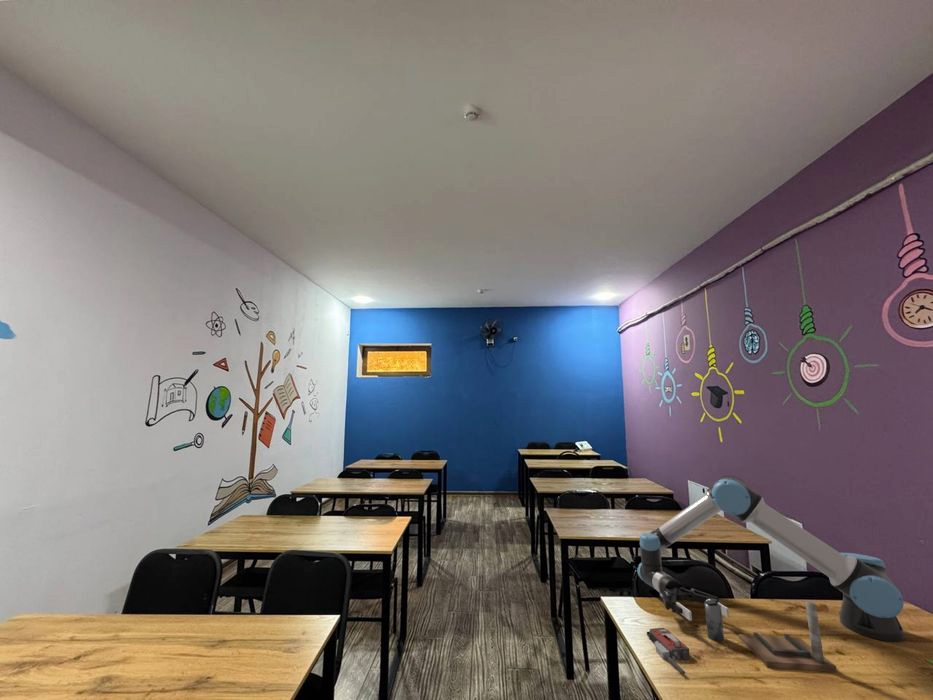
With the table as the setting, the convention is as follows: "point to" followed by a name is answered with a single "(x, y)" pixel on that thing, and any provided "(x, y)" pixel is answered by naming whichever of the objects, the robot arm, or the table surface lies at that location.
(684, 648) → the walkie-talkie
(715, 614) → the grey metal canister
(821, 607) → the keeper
